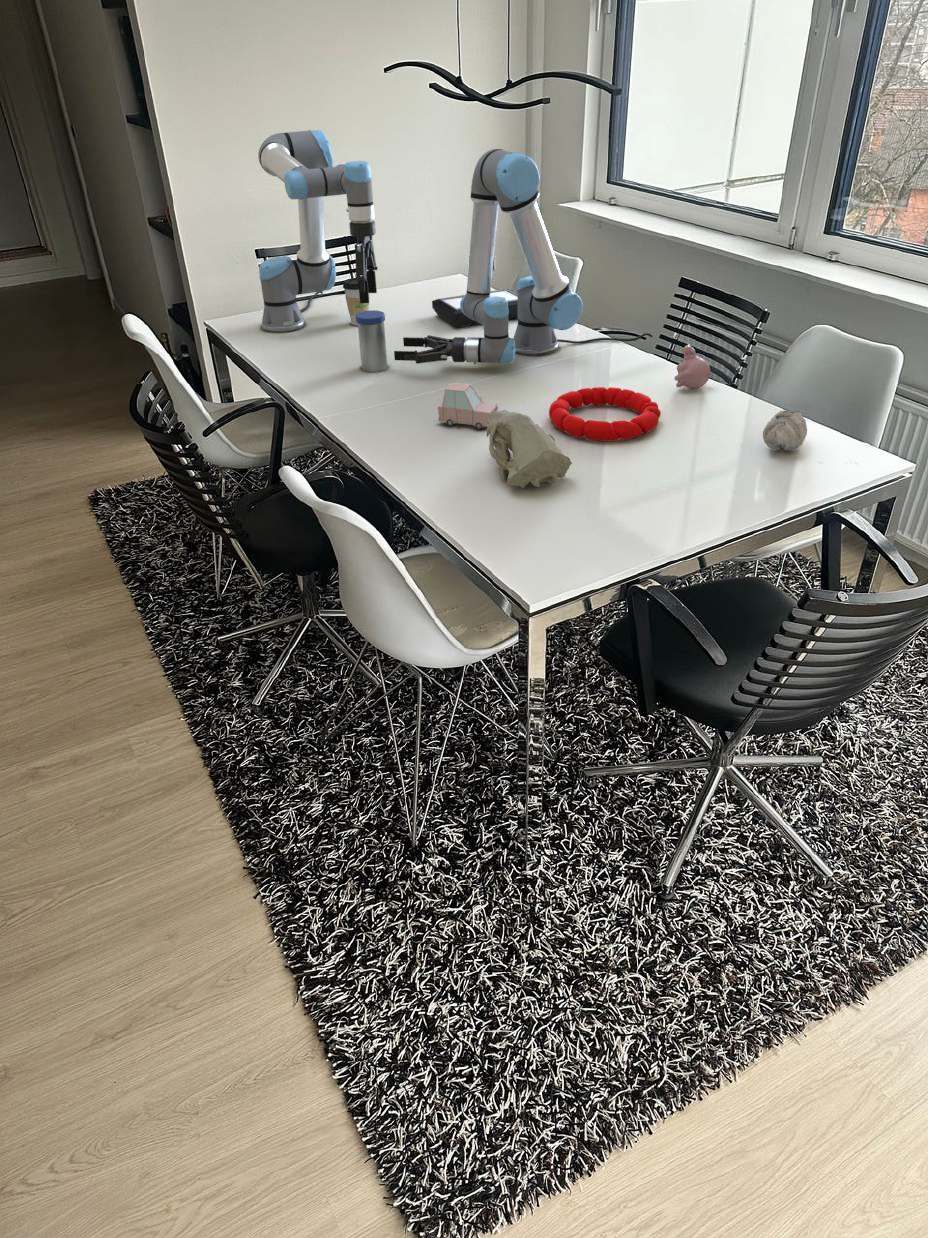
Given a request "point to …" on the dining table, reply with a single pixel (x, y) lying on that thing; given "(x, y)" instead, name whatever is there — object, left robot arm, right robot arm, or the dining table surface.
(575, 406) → the decorative ring
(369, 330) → the jar
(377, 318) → the lid
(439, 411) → the toy car
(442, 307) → the electronic device
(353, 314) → the coffee cup
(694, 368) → the figurine
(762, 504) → the dining table surface
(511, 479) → the grey rock
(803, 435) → the grey rounded lump
